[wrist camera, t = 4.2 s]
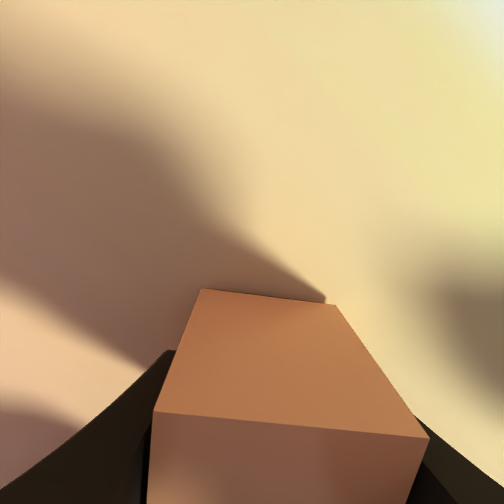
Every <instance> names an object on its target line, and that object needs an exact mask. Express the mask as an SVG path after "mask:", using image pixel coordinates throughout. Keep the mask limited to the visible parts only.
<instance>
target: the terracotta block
mask: <svg viewBox="0 0 504 504" xmlns="http://www.w3.org/2000/svg"><path fill="white" fill-rule="evenodd" d="M429 440H430V438H429V436H428V435H427V433H426V432H425V431H424V429H423V428H422V426H421V425H420V424H419V422H418V421H417V419H416V418H415V416H414V415H413V414H412V412H411V411H410V409H409V408H408V407H407V405H406V404H405V402H404V401H403V400H402V398H401V397H400V395H399V394H398V392H397V391H396V390H395V388H394V387H393V385H392V384H391V383H390V381H389V380H388V378H387V377H386V376H385V374H384V373H383V371H382V370H381V368H380V367H379V366H378V364H377V363H376V361H375V360H374V359H373V357H372V356H371V354H370V353H369V352H368V350H367V349H366V347H365V346H364V344H363V343H362V342H361V340H360V339H359V337H358V336H357V335H356V333H355V332H354V330H353V329H352V328H351V326H350V325H349V323H348V322H347V320H346V319H345V318H344V316H343V315H342V313H341V312H340V311H339V309H338V308H337V306H336V305H330V304H322V303H314V302H306V301H298V300H290V299H282V298H274V297H266V296H258V295H250V294H243V293H235V292H227V291H219V290H211V289H203V288H201V290H200V292H199V295H198V297H197V300H196V303H195V305H194V308H193V310H192V313H191V315H190V318H189V320H188V323H187V326H186V328H185V331H184V333H183V336H182V338H181V341H180V343H179V346H178V349H177V351H176V354H175V356H174V359H173V361H172V364H171V366H170V369H169V372H168V374H167V377H166V379H165V382H164V384H163V387H162V389H161V392H160V395H159V397H158V400H157V402H156V405H155V407H154V410H153V419H152V433H151V447H150V461H149V475H148V490H147V504H405V503H406V500H407V498H408V495H409V493H410V490H411V487H412V485H413V482H414V479H415V477H416V474H417V472H418V469H419V466H420V464H421V461H422V458H423V456H424V453H425V450H426V448H427V445H428V443H429Z"/></svg>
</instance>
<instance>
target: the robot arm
mask: <svg viewBox="0 0 504 504" xmlns="http://www.w3.org/2000/svg"><path fill="white" fill-rule="evenodd" d="M175 354H176V351H173V350H167V351H165V352H164V353H163V354H162V355H161V356H160V357H159V358H158V359H157V360H156V361H155V362H154V363H153V364H152V365H151V366H150V368H149V369H148V370H147V371H146V372H145V373H144V374H143V375H142V376H141V377H139V378H138V379H137V380H136V381H135V382H134V383H133V384H132V385H131V386H130V387H129V388H128V389H127V390H126V391H125V392H124V393H123V394H121V395H120V396H119V397H118V398H117V399H116V400H115V401H114V402H113V403H112V404H111V405H109V406H108V407H107V408H106V409H105V410H104V411H102V412H101V413H100V414H99V415H98V416H96V417H95V418H94V419H93V420H92V421H91V422H89V423H88V424H87V425H86V426H85V427H84V428H82V429H81V430H80V431H79V432H77V433H76V434H75V435H74V436H72V437H71V438H70V439H69V440H67V441H66V442H65V443H64V444H62V445H61V446H60V447H58V448H57V449H56V450H55V451H53V452H52V453H51V454H49V455H48V456H47V457H45V458H44V459H43V460H41V461H40V462H38V463H37V464H36V465H34V466H33V467H32V468H30V469H29V470H28V471H26V472H25V473H24V474H22V475H21V476H19V477H18V478H16V479H15V480H13V481H12V482H11V483H9V484H8V485H6V486H5V487H3V488H2V489H0V504H147V490H148V475H149V461H150V447H151V433H152V419H153V410H154V407H155V405H156V402H157V400H158V397H159V395H160V392H161V389H162V387H163V384H164V382H165V379H166V377H167V374H168V372H169V369H170V366H171V364H172V361H173V359H174V356H175ZM415 418H416V419H417V421H418V422H419V424H420V425H421V426H422V428H423V429H424V431H425V432H426V433H427V435H428V436H429V438H430V440H429V443H428V445H427V448H426V450H425V453H424V456H423V458H422V461H421V464H420V466H419V469H418V472H417V474H416V477H415V479H414V482H413V485H412V487H411V490H410V493H409V495H408V498H407V500H406V503H405V504H504V488H503V487H502V486H501V485H499V484H498V483H497V482H496V481H494V480H493V479H492V478H490V477H489V476H488V475H486V474H485V473H484V472H482V471H481V470H480V469H479V468H477V467H476V466H475V465H474V464H472V463H471V462H470V461H469V460H467V459H466V458H465V457H464V456H462V455H461V454H460V453H459V452H457V451H456V450H455V449H454V448H452V447H451V446H450V445H449V444H448V443H446V442H445V441H444V440H443V439H442V438H440V437H439V436H438V435H437V434H436V433H434V432H433V431H432V430H431V429H430V428H428V427H427V426H426V425H425V424H424V423H423V422H421V421H420V420H419V419H418V418H417V417H416V416H415Z"/></svg>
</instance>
